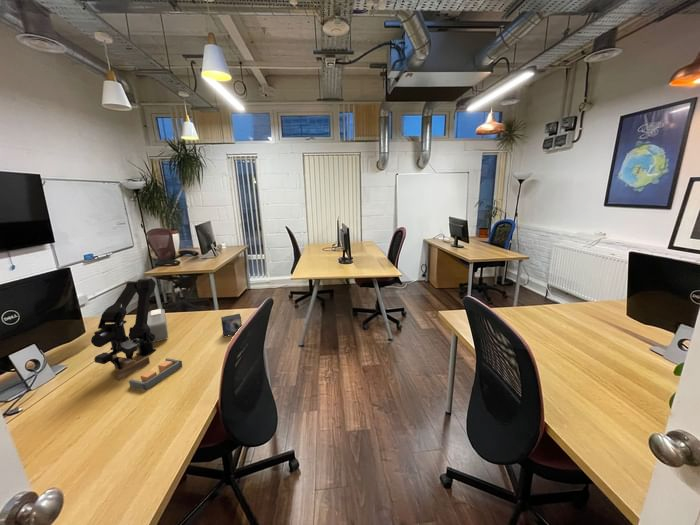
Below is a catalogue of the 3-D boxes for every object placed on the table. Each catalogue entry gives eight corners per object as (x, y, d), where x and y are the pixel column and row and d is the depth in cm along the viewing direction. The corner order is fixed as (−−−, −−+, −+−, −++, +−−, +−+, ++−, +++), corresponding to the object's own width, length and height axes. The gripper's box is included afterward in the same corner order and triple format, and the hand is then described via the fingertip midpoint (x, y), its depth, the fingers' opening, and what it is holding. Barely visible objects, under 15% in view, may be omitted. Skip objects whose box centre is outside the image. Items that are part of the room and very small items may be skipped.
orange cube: (159, 372, 130) (158, 365, 129) (167, 368, 134) (166, 360, 133) (166, 374, 129) (164, 366, 128) (173, 369, 133) (172, 361, 132)
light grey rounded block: (149, 328, 178) (146, 310, 175) (167, 324, 183) (163, 306, 180) (148, 345, 156) (144, 325, 153) (168, 340, 161) (165, 321, 158)
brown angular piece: (102, 376, 129) (99, 366, 128) (133, 360, 142) (131, 350, 141) (119, 380, 125) (117, 370, 124) (150, 363, 138) (148, 354, 137)
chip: (142, 383, 123) (140, 375, 122) (151, 378, 126) (149, 370, 125) (148, 385, 121) (147, 377, 120) (157, 379, 125) (156, 371, 124)
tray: (130, 386, 121) (128, 380, 120) (168, 363, 137) (167, 358, 137) (145, 390, 118) (144, 384, 117) (182, 366, 135) (181, 360, 134)
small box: (223, 337, 162) (221, 320, 160) (222, 333, 168) (220, 316, 165) (243, 333, 167) (241, 316, 164) (241, 329, 172) (239, 313, 170)
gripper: (107, 348, 119) (115, 381, 122) (150, 329, 136) (156, 358, 140) (89, 345, 122) (97, 377, 126) (133, 326, 140) (139, 355, 143)
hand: (124, 366), depth 133 cm, fingers open, 4 cm apart
